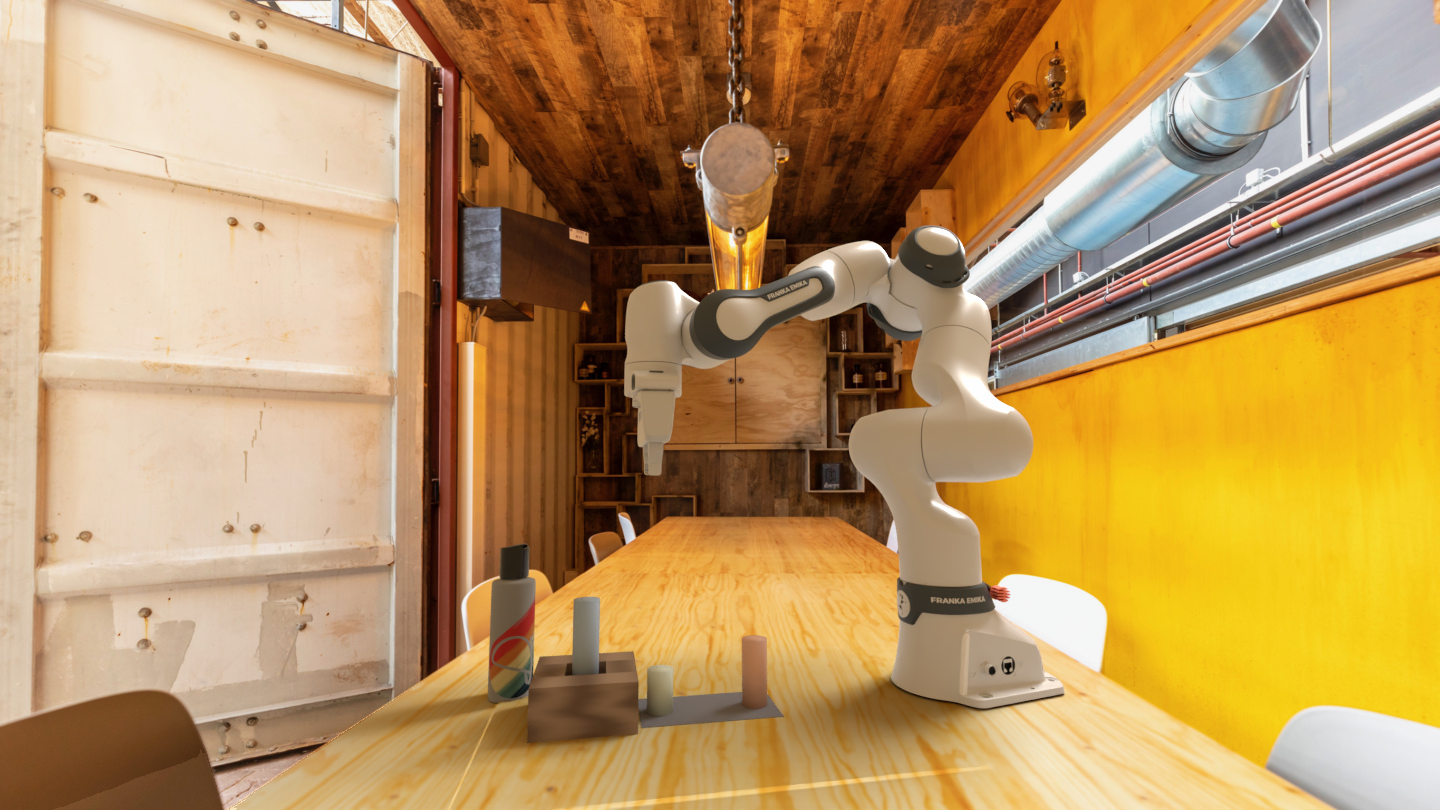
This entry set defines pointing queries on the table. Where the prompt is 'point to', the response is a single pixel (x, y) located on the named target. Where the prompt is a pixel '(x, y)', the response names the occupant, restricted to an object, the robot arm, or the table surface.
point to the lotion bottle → (512, 627)
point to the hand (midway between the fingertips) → (652, 475)
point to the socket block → (583, 699)
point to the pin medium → (754, 671)
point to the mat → (707, 710)
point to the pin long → (586, 636)
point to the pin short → (660, 690)
